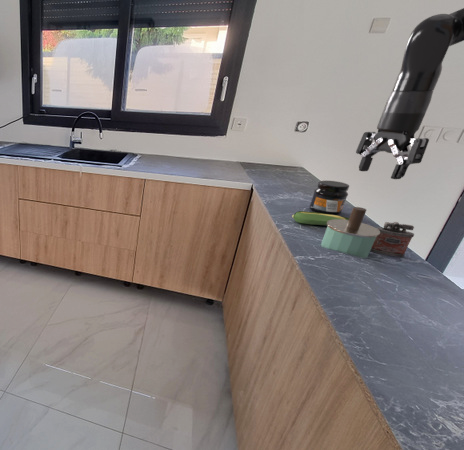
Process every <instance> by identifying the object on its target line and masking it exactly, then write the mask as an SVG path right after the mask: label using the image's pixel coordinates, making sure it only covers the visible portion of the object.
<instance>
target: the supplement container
mask: <svg viewBox="0 0 464 450" xmlns="http://www.w3.org/2000/svg"><path fill="white" fill-rule="evenodd" d="M349 188H350V185H349V184H348V183H346V182H343V181H336V180H320V181H318V184H317V187H316V188H315V189H314V192H313V195H312V198H311V201H310V204H309V210H310V211H311V212H315V213H323V214H329V215H336V216H339V215H340V214H341V213H342V211H343V208H344V206H345V203H346V200H347V197H348V196H349V193H348V191H349Z"/></svg>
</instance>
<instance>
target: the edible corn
mask: <svg viewBox="0 0 464 450" xmlns="http://www.w3.org/2000/svg"><path fill="white" fill-rule="evenodd" d="M291 218H293V220H294V221H295V222H296V223H299V224H301V225H311V226H312V225H313V226H327V221H329V220H333V219H343V220H349V218H350V217H345V216H341V215H329V214H323V213H316V212H313V211H308V210H307V211H304V210H299V211H297V212H295V213H294V214H292V215H291Z"/></svg>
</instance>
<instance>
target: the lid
mask: <svg viewBox="0 0 464 450" xmlns="http://www.w3.org/2000/svg"><path fill="white" fill-rule="evenodd" d="M366 213H367V208H364V207H359V206H353V208H352V210H351V212H350V214H349V215H350V216H349V217H348V218H349V220H343V219H333V220H329V221H327V225H326V227H327V226H328V227H329V228H331V229H333V230H335V231H337V232H340V233H344V234H347V235H352V236H357V237H377V236H379V235H380V231H379V230H378V229H377V228H378V227H375V226H373V225H370V224H367V223H364V222H363V220H364V218H365V215H366Z"/></svg>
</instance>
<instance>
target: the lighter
mask: <svg viewBox="0 0 464 450" xmlns="http://www.w3.org/2000/svg"><path fill="white" fill-rule="evenodd" d="M376 228H377V229H378V230H379V231H380V235H379V236H377V237H376V239H375V241H374V243H373V246H372V248H371V250H370V252H372V253H376V254H379V255H380V254H381V255H385V256H390V257H397V258H404V257H405V255H406V251H407V249H408V247H409V246H410V245H409V244H410V242H411V241H412V238H414V236H415V233H414V232H411V231H414V229H415V226H414V225H413V224H405V223H399V221H398V222H397V221H393V222H388V221H384V224H383V227H382V226H381V227H380V226H378V227H376Z"/></svg>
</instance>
